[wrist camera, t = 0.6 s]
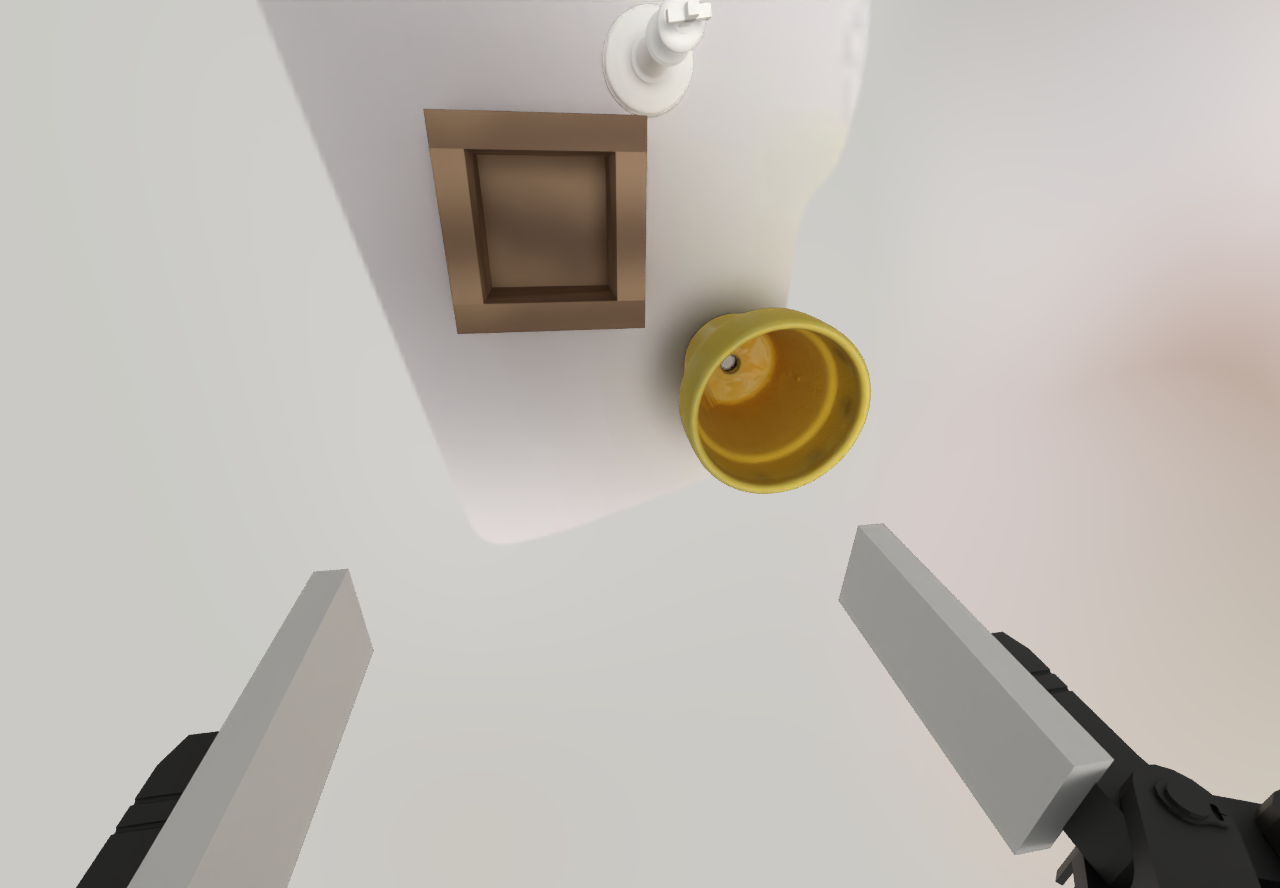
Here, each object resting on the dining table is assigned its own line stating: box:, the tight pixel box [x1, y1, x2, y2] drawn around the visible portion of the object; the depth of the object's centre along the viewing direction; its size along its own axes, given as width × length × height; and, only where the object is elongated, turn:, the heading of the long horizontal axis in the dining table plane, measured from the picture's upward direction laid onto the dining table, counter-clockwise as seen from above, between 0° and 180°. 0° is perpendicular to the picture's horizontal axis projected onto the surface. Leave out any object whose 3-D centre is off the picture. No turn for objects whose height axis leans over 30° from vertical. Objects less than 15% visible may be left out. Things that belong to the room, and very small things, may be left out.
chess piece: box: [603, 0, 711, 117], centre depth 24 cm, size 5×5×10 cm
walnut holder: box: [423, 109, 647, 334], centre depth 28 cm, size 10×10×6 cm
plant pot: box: [679, 308, 871, 494], centre depth 32 cm, size 10×10×10 cm
